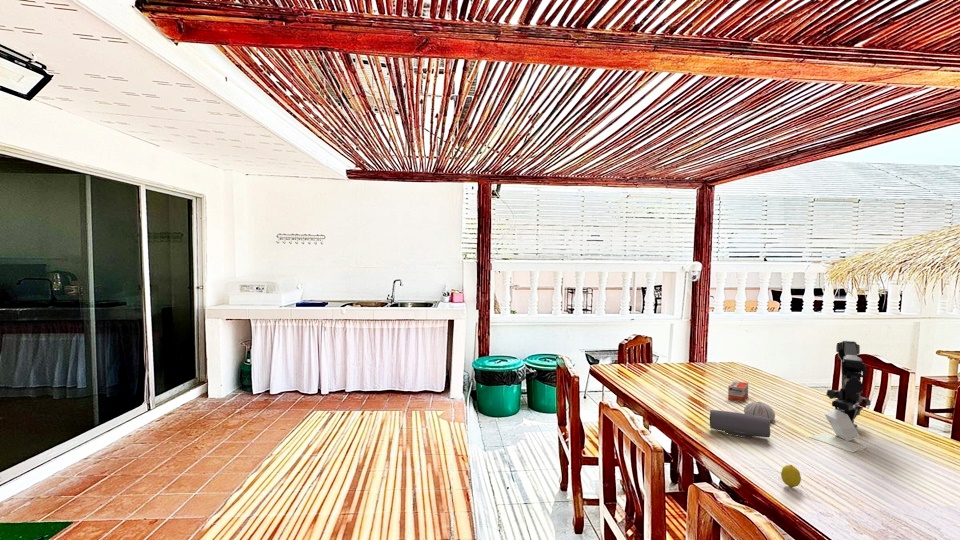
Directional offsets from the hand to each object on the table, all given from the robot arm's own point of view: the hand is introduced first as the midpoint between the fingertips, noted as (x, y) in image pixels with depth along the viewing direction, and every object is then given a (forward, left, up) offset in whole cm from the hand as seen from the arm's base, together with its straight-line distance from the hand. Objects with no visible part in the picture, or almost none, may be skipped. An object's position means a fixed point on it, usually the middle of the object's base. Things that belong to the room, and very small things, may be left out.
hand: (850, 421), depth 187 cm
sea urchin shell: (+13, -32, -8) cm, 36 cm away
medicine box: (-8, -57, -8) cm, 59 cm away
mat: (+10, 0, -8) cm, 13 cm away
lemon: (+69, +15, -8) cm, 71 cm away
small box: (+1, 0, -6) cm, 7 cm away
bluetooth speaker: (+43, -22, -8) cm, 49 cm away
